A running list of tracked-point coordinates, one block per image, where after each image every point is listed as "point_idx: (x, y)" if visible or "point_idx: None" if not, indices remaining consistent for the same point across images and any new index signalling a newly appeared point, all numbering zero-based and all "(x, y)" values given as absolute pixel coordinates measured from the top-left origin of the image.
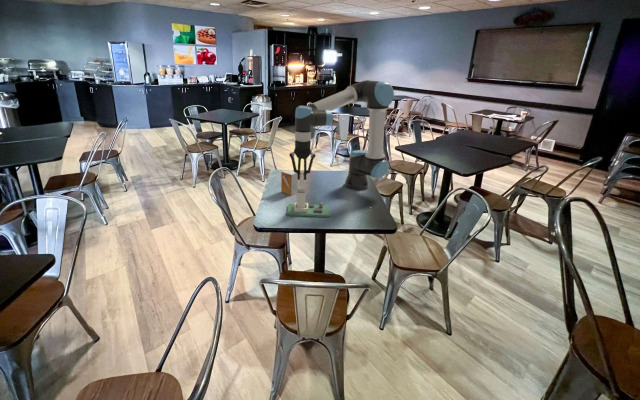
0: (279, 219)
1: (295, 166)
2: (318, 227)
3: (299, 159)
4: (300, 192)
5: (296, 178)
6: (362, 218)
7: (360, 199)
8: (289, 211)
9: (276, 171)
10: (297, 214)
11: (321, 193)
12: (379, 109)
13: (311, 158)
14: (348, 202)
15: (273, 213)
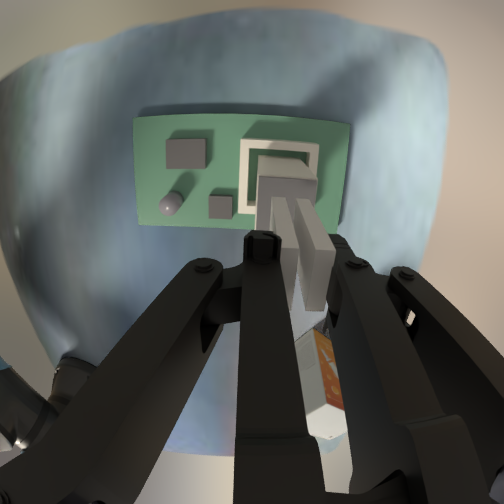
0: (378, 88)
1: (430, 332)
2: (194, 16)
3: (445, 449)
4: (293, 177)
5: None
6: (30, 136)
7: (51, 294)
8: (337, 145)
9: (333, 449)
10: (296, 117)
11: None
12: None
13: (72, 481)
14: (79, 270)
15: (403, 151)
